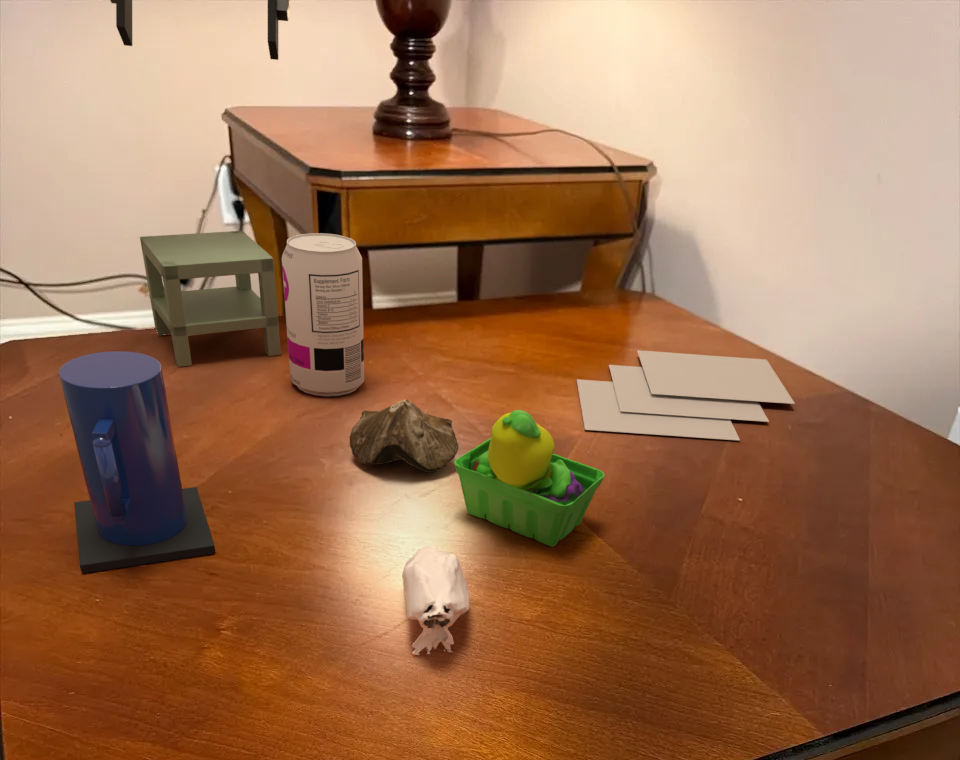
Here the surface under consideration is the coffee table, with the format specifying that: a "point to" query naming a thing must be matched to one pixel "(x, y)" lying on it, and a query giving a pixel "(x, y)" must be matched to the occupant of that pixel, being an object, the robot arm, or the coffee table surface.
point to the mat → (111, 555)
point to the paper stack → (681, 395)
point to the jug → (125, 445)
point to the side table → (210, 306)
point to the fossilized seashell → (404, 437)
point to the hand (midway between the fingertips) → (199, 44)
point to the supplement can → (324, 313)
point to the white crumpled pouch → (434, 595)
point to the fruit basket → (526, 481)
